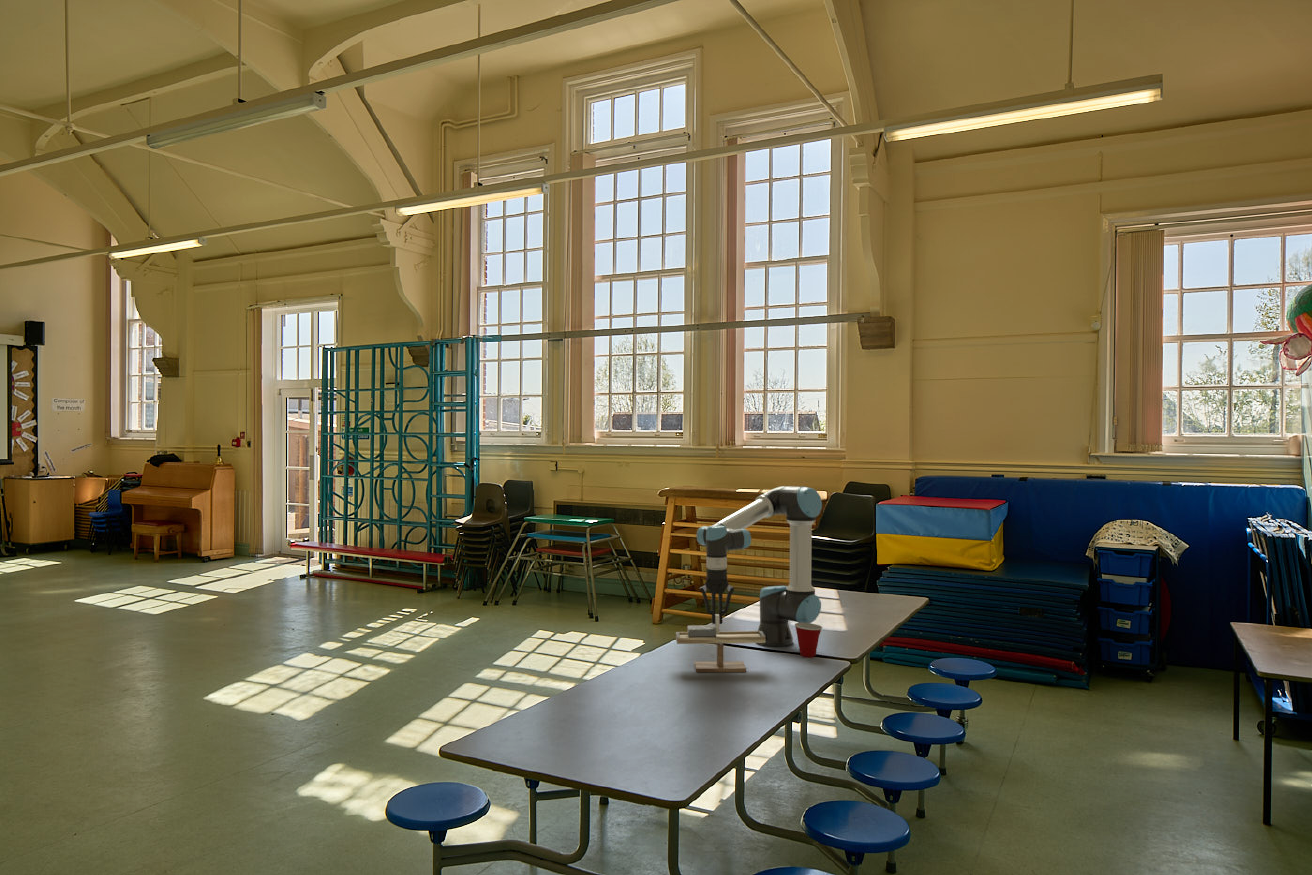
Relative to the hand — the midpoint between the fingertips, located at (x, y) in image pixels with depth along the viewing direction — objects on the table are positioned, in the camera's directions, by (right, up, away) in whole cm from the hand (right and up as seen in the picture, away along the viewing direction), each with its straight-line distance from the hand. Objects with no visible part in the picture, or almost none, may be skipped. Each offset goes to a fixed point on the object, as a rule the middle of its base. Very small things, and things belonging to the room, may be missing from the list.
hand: (717, 632), depth 321 cm
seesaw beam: (+1, -3, 0) cm, 3 cm away
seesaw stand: (+1, -13, 0) cm, 13 cm away
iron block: (-6, -2, 0) cm, 6 cm away
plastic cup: (+37, -13, +19) cm, 43 cm away
